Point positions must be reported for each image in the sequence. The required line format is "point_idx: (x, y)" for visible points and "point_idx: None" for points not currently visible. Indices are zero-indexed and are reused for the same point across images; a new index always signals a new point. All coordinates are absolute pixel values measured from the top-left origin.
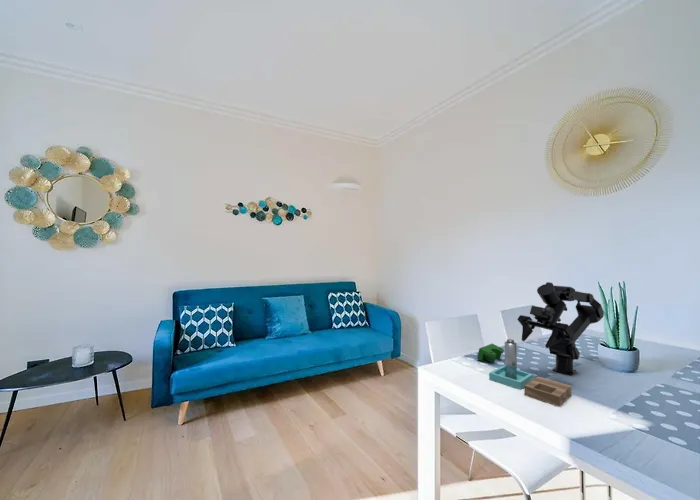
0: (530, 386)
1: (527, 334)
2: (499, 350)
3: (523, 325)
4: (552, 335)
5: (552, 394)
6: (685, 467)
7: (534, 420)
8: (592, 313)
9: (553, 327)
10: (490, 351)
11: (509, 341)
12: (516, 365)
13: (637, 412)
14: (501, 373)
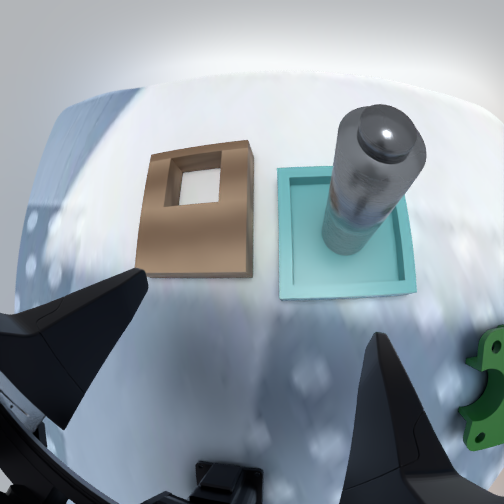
0: (231, 151)
1: (363, 441)
2: (480, 420)
3: (451, 485)
4: (40, 320)
5: (166, 153)
6: (45, 154)
7: (195, 81)
8: None
9: (14, 449)
10: (502, 356)
11: (378, 108)
12: (326, 212)
13: (52, 291)
14: (389, 243)
